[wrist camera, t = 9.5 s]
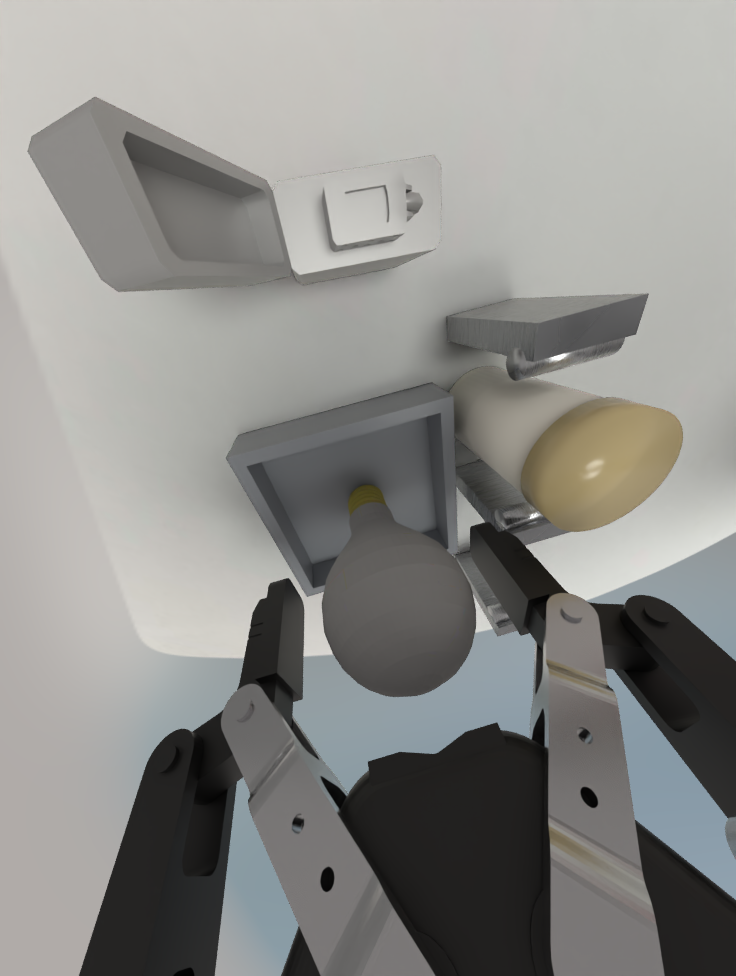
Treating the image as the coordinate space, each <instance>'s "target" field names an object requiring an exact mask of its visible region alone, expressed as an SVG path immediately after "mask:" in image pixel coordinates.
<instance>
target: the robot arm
mask: <svg viewBox="0 0 736 976" xmlns="http://www.w3.org/2000/svg"><path fill="white" fill-rule="evenodd" d="M470 552H471V556H472V559H473V561H474V563H475V565H476V566H477V568H478V569H479V571H480V573H481V574H482V576H483V577H484V579H485V580H486V582H487V584H488V585H489V587H490V588H491V590H492V591H493V593H494V594H495V596H496V598H497V599H498V601H499V602H500V604H501V605H502V607H503V609H504V610H505V612H506V613H507V615H508V616H509V618H510V620H511V621H512V623H513V624H514V626H515V627H516V629H517V630H518V632H519V634H520V635H525V634H528V633H531V635H532V636H533V638H534V639H535V641H536V643H535V661H534V685H533V687H534V688H533V701H532V708H531V716H530V717H531V718H530V734H529V738H527V737H525V736H523V735H520V734H517V733H514V732H509V731H502V730H500V728H499V726H498V723H494V724H490V725H487V726H484V727H480V728H477V729H474V730H471V731H467V732H465V733H464V734H463V735H461V736H460V737H458V738H457V739H456V740H454V741H453V742H452V743H451V744H449V745H448V746H447V747H445V748H444V749H443V750H441V751H440V752H439V753H436V754H424V753H423V754H422V753H406V752H398V753H395V754H392V755H388V756H385V757H382V758H378V759H375V760H372V761H369V762H368V766H369V771H368V772H367V773H365V774H364V775H363V776H362V777H361V778H360V779H359V780H358V781H357V783H356V784H355V785H354V786H353V788H352V789H351V790H350V792H349V794H348V793H347V791H346V790H345V788H344V787H343V786H342V784H341V783H340V781H339V780H338V778H337V777H336V776H335V774H334V773H333V772H332V771H331V769H330V768H329V767H328V766H327V765H326V764H325V762H324V761H323V760H322V758H321V757H320V755H319V754H318V752H317V751H316V749H315V748H314V747H313V745H312V744H311V742H310V741H309V739H308V738H307V736H306V735H305V733H304V732H303V730H302V729H301V727H300V726H299V724H298V723H297V722H296V720H295V719H294V717H293V716H292V711H293V702H295V701H298V700H301V699H302V698H303V650H304V605H303V601H302V599H301V597H300V595H299V594H298V592H297V590H296V589H295V587H294V585H293V584H292V582H291V580H290V579H289V578H287V579H283V580H280V581H276V582H273V583H270V585H269V587H268V594H267V598H264V599H261V600H260V601H259V602H258V604H257V606H256V608H255V610H254V612H253V615H252V620H251V625H250V626H251V629H250V631H249V636H248V637H249V640H248V641H247V647H246V652H245V657H244V663H243V668H242V673H241V679H240V683H239V687H238V689H237V691H236V692H235V693H234V694H233V695H232V696H231V698H230V699H229V700H228V702H227V704H226V705H225V708H224V710H223V711H222V712H220V713H219V714H218V715H216V716H215V717H213V718H212V719H210V720H209V721H207V722H206V723H205V724H203V725H202V726H200V727H199V728H197V729H196V730H194V731H193V732H191V731H189V730H187V729H179V730H176V731H174V732H172V733H170V734H169V735H168V736H167V737H165V738H164V739H163V740H162V741H161V742H160V744H159V745H158V746H157V747H156V749H155V750H154V751H153V753H152V755H151V756H150V758H149V760H148V762H147V765H146V767H145V770H144V774H143V777H142V780H141V783H140V786H139V789H138V792H137V796H136V799H135V802H134V805H133V808H132V811H131V815H130V818H129V821H128V824H127V827H126V830H125V834H124V836H123V840H122V843H121V846H120V849H119V852H118V855H117V858H116V861H115V865H114V868H113V871H112V874H111V877H110V880H109V883H108V886H107V890H106V893H105V896H104V899H103V903H102V905H101V908H100V912H99V915H98V918H97V921H96V924H95V927H94V930H93V934H92V937H91V940H90V943H89V946H88V950H87V953H86V956H85V959H84V962H83V965H82V968H81V971H80V974H79V976H215V967H216V959H217V950H218V940H219V932H220V924H221V914H222V906H223V898H224V889H225V880H226V871H227V863H228V854H229V845H230V837H231V828H232V819H233V811H234V802H235V792H236V784H237V781H239V780H240V779H241V778H242V777H244V780H245V782H246V784H247V786H248V789H249V792H250V798H249V800H248V805H249V810H250V813H251V816H252V818H253V821H254V823H255V825H256V827H257V830H258V832H259V834H260V837H261V839H262V841H263V844H264V845H265V848H266V851H267V853H268V855H269V857H270V860H271V862H272V864H273V867H274V869H275V871H276V873H277V876H278V878H279V880H280V883H281V885H282V887H283V890H284V892H285V894H286V897H287V899H288V901H289V904H290V906H291V908H292V911H293V913H294V915H295V917H296V920H297V922H298V924H299V927H298V930H297V933H296V935H295V938H294V941H293V944H292V947H291V949H290V953H289V955H288V958H287V961H286V963H285V966H284V969H283V972H282V975H281V976H736V900H735V899H734V898H732V897H731V896H730V895H729V894H727V893H726V892H725V891H724V890H722V889H721V888H720V887H719V886H717V885H716V884H715V883H714V882H712V881H711V880H710V879H709V878H707V877H706V876H705V875H703V874H702V873H701V872H700V871H699V870H697V869H696V868H695V867H694V866H692V865H691V864H690V863H688V862H687V861H686V860H685V859H684V858H682V857H681V856H680V855H679V854H677V853H676V852H675V851H674V850H672V849H671V848H670V847H669V846H667V845H666V844H665V843H663V842H662V841H661V840H660V839H658V838H657V837H656V836H655V835H653V834H652V833H651V832H650V831H648V830H647V829H646V828H645V827H644V826H642V825H641V824H640V823H639V822H637V821H636V820H635V818H634V811H633V804H632V798H631V790H630V784H629V777H628V770H627V763H626V756H625V749H624V742H623V735H622V728H621V721H620V714H619V708H618V702H617V698H616V695H615V692H614V691H613V689H611V688H610V687H609V686H608V683H607V678H606V670H605V668H607V669H613V670H615V672H616V673H617V675H618V676H619V677H620V679H621V680H622V681H623V682H624V684H625V685H626V686H627V688H628V689H629V690H630V691H631V693H632V694H633V696H634V697H635V698H636V699H637V701H638V702H639V703H640V705H641V706H642V707H643V709H644V710H645V711H646V712H647V714H648V715H649V716H650V718H651V719H652V720H653V722H654V723H655V724H656V725H657V727H658V728H659V729H660V731H661V732H662V733H663V735H664V736H665V737H666V738H667V740H668V741H669V742H670V744H671V745H672V746H673V748H674V749H675V750H676V751H677V753H678V754H679V755H680V757H681V758H682V759H683V760H684V762H685V763H686V764H687V766H688V767H689V768H690V769H691V771H692V772H693V774H694V775H695V776H696V777H697V779H698V780H699V781H700V783H701V784H702V785H703V787H704V788H705V789H706V790H707V792H708V793H709V794H710V796H711V797H712V798H713V800H714V801H715V802H716V803H717V805H718V806H719V807H720V809H721V810H722V811H723V813H724V814H725V815H726V816H727V818H728V820H727V822H726V826H725V830H726V831H725V832H726V838H727V842H728V844H729V847H730V849H731V851H732V853H733V855H734V857H735V859H736V661H735V660H734V659H732V658H731V657H730V656H729V655H728V654H727V653H726V652H725V651H723V650H722V649H721V648H720V647H719V646H717V644H716V643H714V642H713V641H712V640H711V639H710V638H709V637H708V636H707V635H705V634H704V633H703V632H702V631H701V630H700V629H699V628H698V627H696V626H695V625H694V624H693V623H692V622H691V621H690V620H689V619H687V618H686V617H685V616H684V615H683V614H682V613H681V612H680V611H678V610H677V609H676V608H675V607H673V606H672V605H670V604H668V603H666V602H665V601H662V600H660V599H658V598H655V597H651V596H645V595H636V596H633V597H631V598H629V599H628V600H627V601H626V603H625V605H621V604H620V605H619V604H596V603H589V602H587V601H585V600H584V599H582V598H580V597H578V596H576V595H573V594H569V593H568V592H567V591H565V590H564V589H563V588H562V587H561V585H560V584H559V583H558V582H557V581H556V580H555V579H554V578H553V576H552V575H551V574H550V573H549V572H548V571H547V570H546V569H545V568H544V566H543V565H542V564H541V563H540V562H539V561H538V560H537V559H536V558H535V557H534V556H533V554H532V553H531V552H530V551H529V550H528V549H527V548H526V546H525V545H524V544H523V543H522V542H521V541H520V540H519V539H518V537H516V536H514V535H513V534H511V533H509V532H507V531H506V530H504V531H500V532H498V531H497V530H496V528H495V527H494V526H493V525H492V524H491V523H490V522H485V523H482V524H478V525H475V526H471V528H470Z"/></svg>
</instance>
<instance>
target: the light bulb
mask: <svg viewBox="0 0 736 976" xmlns="http://www.w3.org/2000/svg"><path fill="white" fill-rule="evenodd" d="M348 509H349V513H350V519H349V525H350V530H351V537H350V539H349V541H348V543H347V544H346V546H345V547H344V549H343V550H342V551H341V553H340V554H339V556H338V557H337V559H336V561H335V563H334V565H333V566H332V568H331V570H330V572H329V574H328V576H327V580H326V584H325V589H324V594H323V600H322V613H323V625H324V632H325V635H326V638H327V640H328V643H329V645H330V647H331V650H332V652H333V654H334V656H335V657H336V659H337V660H338V662H339V664H340V665H341V667H342V668H343V669H344V671H345V672H347V673H348V674H349V675H350V676H351V677H352V678H353V679H354V680H355V681H356V682H357V683H359V684H360V685H362V686H363V687H365V688H367V689H368V690H371V691H373V692H376V693H379V694H382V695H385V696H390V697H404V696H405V697H406V696H417V695H421V694H425V693H427V692H430V691H432V690H434V689H435V688H437V687H439V686H440V685H441V684H443V683H445V682H446V681H448V680H449V679H450V678H451V677H453V676H454V675H455V674H456V673H457V671H458V670H459V669H460V667H461V666H462V664H463V663H464V661H465V660H466V658H467V656H468V654H469V652H470V649H471V647H472V643H473V638H474V634H475V629H476V609H475V603H474V598H473V593H472V588H471V585H470V583H469V581H468V579H467V578H466V576H465V574H464V572H463V570H462V569H461V567H460V565H459V563H458V562H457V560H456V559H455V558H454V557H453V556H452V555H451V554H450V553H449V552H448V551H447V550H446V549H445V548H444V547H443V546H442V545H441V544H440V543H438V542H437V541H435V540H433V539H432V538H430V537H428V536H426V535H424V534H422V533H420V532H418V531H415V530H413V529H410V528H408V527H405V526H403V525H401V524H399V523H397V522H396V521H395V520H394V517H393V514H392V512H391V510H390V509H389V508H388V507H387V505H386V502H385V500H384V496H383V493H382V491H381V490H380V489H379V488H377V487H376V486H373V485H362V486H360V487H358V488H356V489H355V490H354V491H353V492H352V493H351V495H350V497H349V499H348Z"/></svg>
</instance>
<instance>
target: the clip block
mask: <svg viewBox="0 0 736 976" xmlns="http://www.w3.org/2000/svg"><path fill="white" fill-rule="evenodd" d="M648 295H649V294H622V295H596V296H569V297H542V298H515V299H510V300H507V301H503V302H499V303H495V304H491V305H488V306H484V307H480V308H476V309H473V310H469V311H465V312H461V313H457V314H454V315H450V316H447V341H450V342H454V343H458V344H462V345H466V346H470V347H474V348H478V349H482V350H486V351H490V352H494V353H498V354H502V355H506V356H507V361H506V368H507V372H508V375H509V377H510V378H511V379H512V380H514V381H519V380H522V379H526V378H530V377H533V376H537V375H541V374H544V373H548V372H552V371H555V370H559V369H562V368H566V367H570V366H573V365H577V364H581V363H584V362H588V361H592V360H595V359H599V358H603V357H606V356H610V355H613V354H615V353H616V352H617V351H618V350H619V349H620V348H621V346H622V345H623V342H624V339H625V337H628V336H631V335H635V334H636V333H637V329H638V326H639V323H640V320H641V317H642V314H643V310H644V307H645V304H646V301H647V298H648ZM455 469H456V486H457V488H458V489H459V490H460V491H461V492H462V494H463V495H464V496H465V497H466V498H467V500H468V501H469V502H470V503H471V505H472V506H473V507H474V508H475V509H476V511H477V512H478V513H479V514H480V515H481V517H482V518H483V519H484V520H485V522H490V523H491V524H492V525H493V526H494V527H495V528H496V530H497V531H498V532H500V531H504V530H506V531H507V532H509V533H511V534H513V535H514V536H516V537H518V539H519V540H520V541H521V542H522V543H523V544H524V545H527V544H531V543H534V542H538V541H541V540H544V539H548V538H551V537H555V536H558V535H561V534H565V533H568V532H571V531H565V530H562V529H559V528H558V527H556V526H555V525H553V524H552V523H551V522H550V521H549V520H548V519H546V518H545V517H544V516H543V515H542V514H541V513H540V512H538V511H537V510H536V509H535V508H534V507H533V506H531V505H530V504H529V503H528V502H527V501H526V499H525V498H524V496H523V494H522V493H521V492H519V491H518V490H517V489H516V488H515V487H513V486H512V485H511V484H510V483H509V482H508V481H506V480H505V479H504V478H503V477H502V476H500V475H499V474H498V473H497V472H496V471H495V470H493V469H492V468H491V467H490V466H489V465H487V464H486V463H485V462H484V461H483V460H481V461H478V462H474V463H471V464H467V465H464V466H460V467H457V468H455ZM455 557H456V560H457V562H458V563H459V565H460V567H461V569H462V570H463V572H464V574H465V576H466V578H467V579H468V581H469V583H470V585H471V588H472V593H473V594H474V596H475V598H476V600H477V601H478V603H479V605H480V607H481V608H482V610H483V612H484V613H485V615H486V617H487V619H488V620H489V622H490V624H491V626H492V627H493V629H494V631H495V633H496V634H497V636H501V635H504V634H507V633H510V632H514V631H517V629H516V627H515V626H514V624H513V623H512V621H511V620H510V618H509V616H508V615H507V613H506V612H505V610H504V609H503V607H502V605H501V604H500V602H499V601H498V599H497V598H496V596H495V594H494V593H493V591H492V590H491V588H490V587H489V585H488V584H487V582H486V580H485V579H484V577H483V576H482V574H481V573H480V571H479V569H478V568H477V566H476V565H475V563H474V561H473V559H472V556H471V552H470V551H469V552H465V553H462V554H458V555H455Z"/></svg>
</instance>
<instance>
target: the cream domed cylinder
mask: <svg viewBox="0 0 736 976" xmlns="http://www.w3.org/2000/svg"><path fill="white" fill-rule="evenodd" d="M449 393H450V394H451V395H453V400H454V435H455V437H456V438H457V439H458V440H459V441H460V442H461V443H463V444H464V445H465V446H466V447H467V448H469V449H470V450H471V451H472V452H473V453H474V454H476V455H477V456H478V457H479V458H480V459H482V460H483V461H484V462H485V463H486V464H487V465H489V466H490V467H491V468H492V469H493V470H495V471H496V472H497V473H498V474H499V475H500V476H502V477H503V478H504V479H505V480H506V481H508V482H509V483H510V484H511V485H512V486H513V487H515V488H516V489H517V490H518V491H519V492H521V493H522V494H523V496H524V498H525V499H526V501H527V502H528V503H529V504H530V505H531V506H533V507H534V508H535V509H536V510H537V511H538V512H540V513H541V514H542V515H543V516H544V517H545V518H546V519H548V520H549V521H550V522H551V523H552V524H553V525H555V526H556V527H558V528H559V529H562V530H565V531H571V532H580V531H587V530H592V529H596V528H599V527H602V526H604V525H607V524H609V523H611V522H613V521H615V520H617V519H619V518H621V517H623V516H624V515H626V514H627V513H629V512H630V511H632V510H633V509H634V508H636V507H637V506H638V505H640V504H641V503H642V502H643V501H645V500H646V499H647V498H648V497H649V496H650V495H651V494H652V493H653V492H654V491H655V490H656V489H657V488H658V487H659V486H660V484H661V483H662V482H663V481H664V479H665V478H666V477H667V475H668V474H669V472H670V471H671V469H672V467H673V466H674V464H675V462H676V460H677V458H678V456H679V453H680V450H681V446H682V441H683V432H682V426H681V424H680V422H679V420H678V419H677V418H676V416H675V415H673V414H672V413H670V412H668V411H665V410H663V409H659V408H655V407H651V406H647V405H644V404H640V403H636V402H632V401H629V400H625V399H621V398H615V397H606V398H603V397H600V396H596V395H593V394H589V393H586V392H582V391H578V390H575V389H571V388H568V387H564V386H560V385H557V384H553V383H550V382H546V381H542V380H539V379H535V378H532V377H530V378H526V379H522V380H519V381H514V380H512V379H511V378H510V377H509V375H508V372H507V370H503V369H499V368H496V367H491V366H485V367H479V368H476V369H473V370H471V371H469V372H468V373H466V374H465V375H463V376H462V377H461V378H460V379H459V380H458V381H457V382H456V383H455V384H454V385H453V387H452V388H451V390H450V391H449Z"/></svg>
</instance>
